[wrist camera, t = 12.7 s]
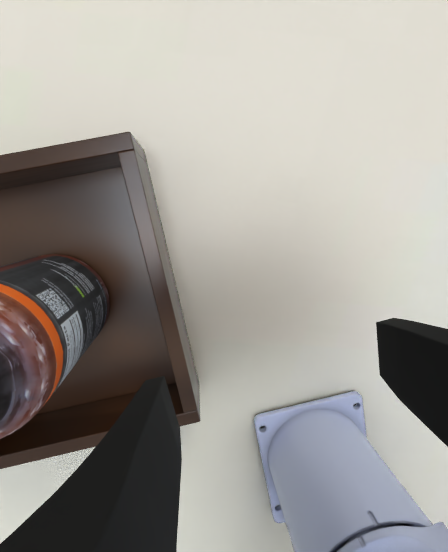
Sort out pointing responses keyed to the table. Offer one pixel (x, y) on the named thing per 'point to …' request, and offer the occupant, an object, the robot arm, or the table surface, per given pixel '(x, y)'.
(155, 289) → the crate
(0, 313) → the supplement bottle
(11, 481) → the table surface
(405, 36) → the table surface
